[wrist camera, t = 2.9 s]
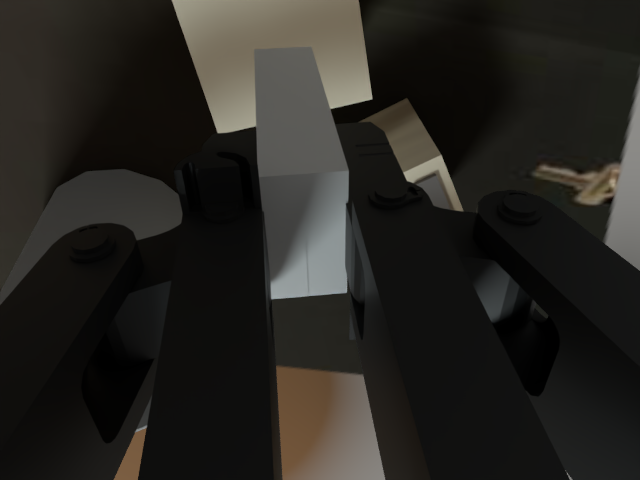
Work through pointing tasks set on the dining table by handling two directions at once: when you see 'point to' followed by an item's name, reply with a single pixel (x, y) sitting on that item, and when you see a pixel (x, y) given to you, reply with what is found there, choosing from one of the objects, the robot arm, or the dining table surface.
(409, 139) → the striped block
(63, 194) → the cup
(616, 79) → the dining table surface
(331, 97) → the plain block
